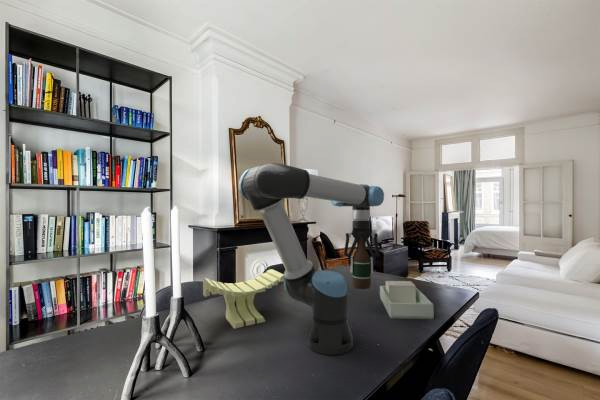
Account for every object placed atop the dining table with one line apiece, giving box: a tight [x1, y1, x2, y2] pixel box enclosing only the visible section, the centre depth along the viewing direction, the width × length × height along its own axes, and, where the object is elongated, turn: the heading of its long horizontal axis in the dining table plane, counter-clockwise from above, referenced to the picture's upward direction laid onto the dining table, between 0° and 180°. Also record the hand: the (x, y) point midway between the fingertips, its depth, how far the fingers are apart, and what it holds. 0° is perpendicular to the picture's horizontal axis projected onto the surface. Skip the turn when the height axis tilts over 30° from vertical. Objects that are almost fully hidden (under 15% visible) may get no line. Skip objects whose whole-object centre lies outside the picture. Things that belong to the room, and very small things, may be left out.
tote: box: [379, 285, 435, 320], centre depth 132 cm, size 17×26×6 cm, turn 174°
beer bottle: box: [352, 232, 372, 290], centre depth 127 cm, size 8×8×24 cm
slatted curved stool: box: [202, 268, 285, 330], centre depth 123 cm, size 30×16×18 cm, turn 119°
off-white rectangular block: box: [385, 280, 417, 303], centre depth 139 cm, size 12×8×8 cm, turn 84°
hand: (361, 272), depth 127 cm, fingers closed on beer bottle, 8 cm apart
